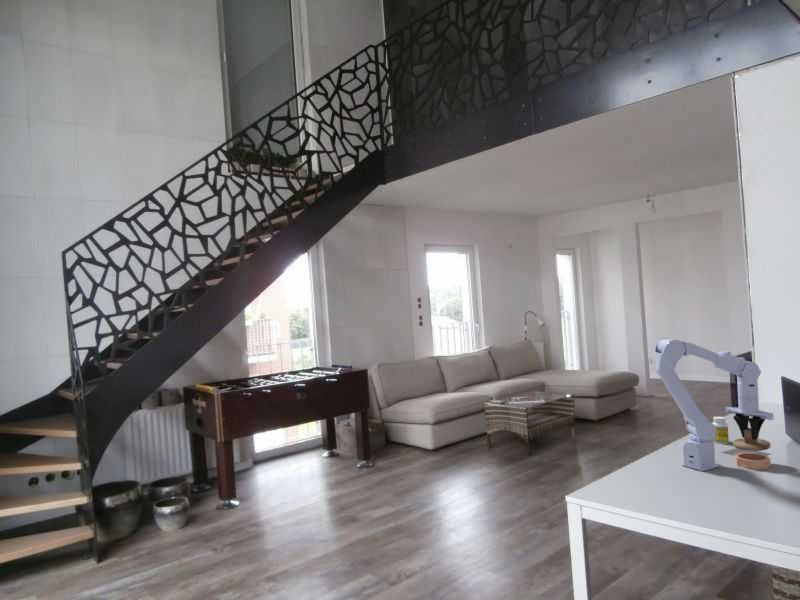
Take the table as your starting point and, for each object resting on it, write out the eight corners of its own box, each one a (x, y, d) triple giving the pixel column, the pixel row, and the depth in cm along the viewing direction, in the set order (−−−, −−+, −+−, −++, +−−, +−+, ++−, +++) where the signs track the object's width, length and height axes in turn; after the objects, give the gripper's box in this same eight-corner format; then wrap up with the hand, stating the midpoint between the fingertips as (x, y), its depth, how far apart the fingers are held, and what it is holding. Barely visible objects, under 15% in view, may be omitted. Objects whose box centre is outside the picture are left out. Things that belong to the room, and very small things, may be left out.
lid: (758, 453, 178) (756, 436, 178) (726, 446, 188) (724, 430, 187) (777, 444, 183) (775, 428, 183) (745, 438, 193) (743, 422, 192)
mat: (751, 460, 190) (751, 459, 190) (720, 453, 199) (720, 452, 199) (771, 454, 194) (771, 454, 194) (740, 448, 204) (740, 447, 204)
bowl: (758, 472, 178) (757, 462, 178) (728, 464, 186) (728, 455, 186) (776, 466, 182) (775, 457, 182) (746, 459, 190) (746, 451, 190)
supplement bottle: (722, 440, 216) (720, 415, 216) (732, 443, 210) (730, 418, 210) (709, 441, 215) (708, 416, 215) (719, 445, 210) (717, 419, 210)
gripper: (778, 398, 180) (780, 440, 180) (733, 392, 193) (735, 432, 193) (765, 401, 177) (767, 444, 177) (721, 395, 190) (723, 435, 190)
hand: (750, 438), depth 185 cm, fingers closed on lid, 3 cm apart
